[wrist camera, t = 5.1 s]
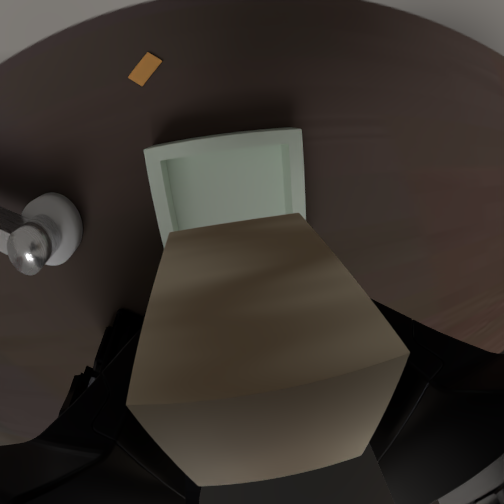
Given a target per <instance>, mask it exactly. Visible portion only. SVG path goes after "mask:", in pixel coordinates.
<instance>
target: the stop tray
mask: <svg viewBox="0 0 504 504" xmlns="http://www.w3.org/2000/svg"><path fill="white" fill-rule="evenodd" d="M144 156H145V161H146V167H147V173H148V178H149V183H150V188H151V193H152V198H153V203H154V208H155V212H156V217H157V221H158V226H159V230H160V234H161V239H162V243H163V247H164V248H165V245H166V242H167V239H168V235H169V232H174V231H180V230H186V229H192V228H198V227H204V226H211V225H217V224H223V223H230V222H236V221H243V220H250V219H257V218H264V217H271V216H278V215H285V214H293V213H300V214H301V216H302V217H303V218H304V219H305V220H306V205H305V179H304V159H303V142H302V129H298V128H291V127H287V128H272V129H260V130H250V131H240V132H232V133H223V134H216V135H209V136H202V137H196V138H189V139H184V140H178V141H172V142H167V143H162V144H157V145H152V146H150V147H148V148H146V149H144Z"/></svg>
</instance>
